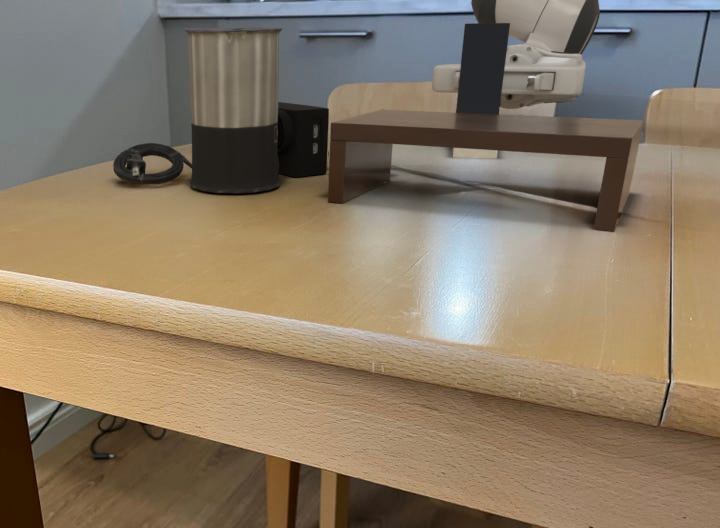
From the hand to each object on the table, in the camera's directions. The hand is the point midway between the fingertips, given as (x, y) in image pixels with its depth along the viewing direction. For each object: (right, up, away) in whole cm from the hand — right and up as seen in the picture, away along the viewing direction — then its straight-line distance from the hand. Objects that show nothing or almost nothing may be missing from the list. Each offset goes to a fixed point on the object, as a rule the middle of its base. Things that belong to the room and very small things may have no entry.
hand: (495, 82), depth 99 cm
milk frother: (-38, -19, -22) cm, 48 cm away
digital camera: (-29, -15, -14) cm, 36 cm away
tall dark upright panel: (-5, -11, -6) cm, 14 cm away
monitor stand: (-12, -22, -31) cm, 40 cm away
